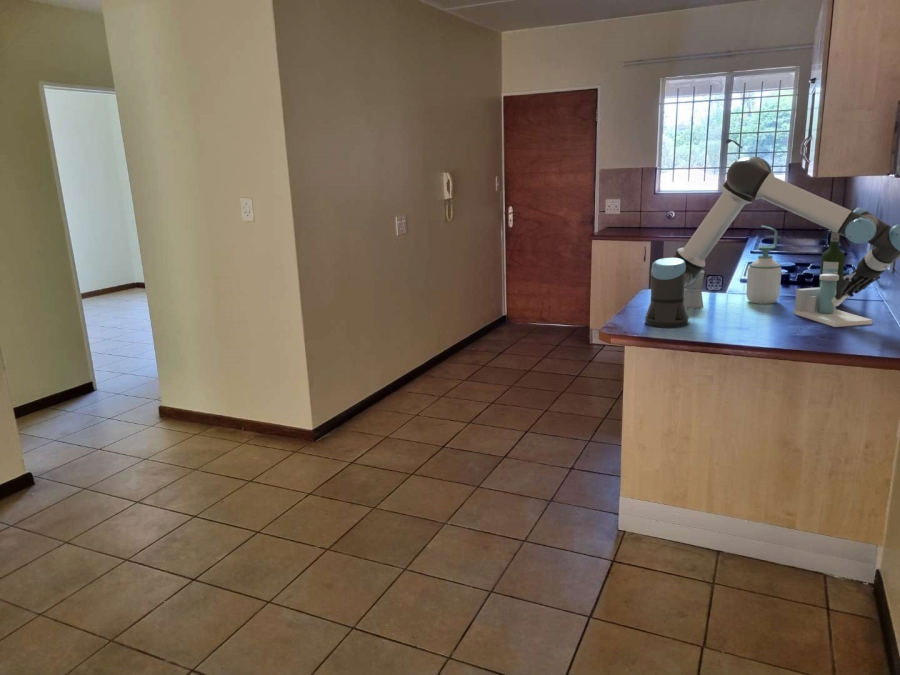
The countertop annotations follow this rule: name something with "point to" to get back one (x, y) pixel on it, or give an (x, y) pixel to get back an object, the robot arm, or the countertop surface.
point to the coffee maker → (694, 293)
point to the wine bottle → (833, 259)
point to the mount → (809, 309)
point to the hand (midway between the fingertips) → (834, 302)
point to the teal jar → (827, 292)
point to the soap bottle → (764, 276)
